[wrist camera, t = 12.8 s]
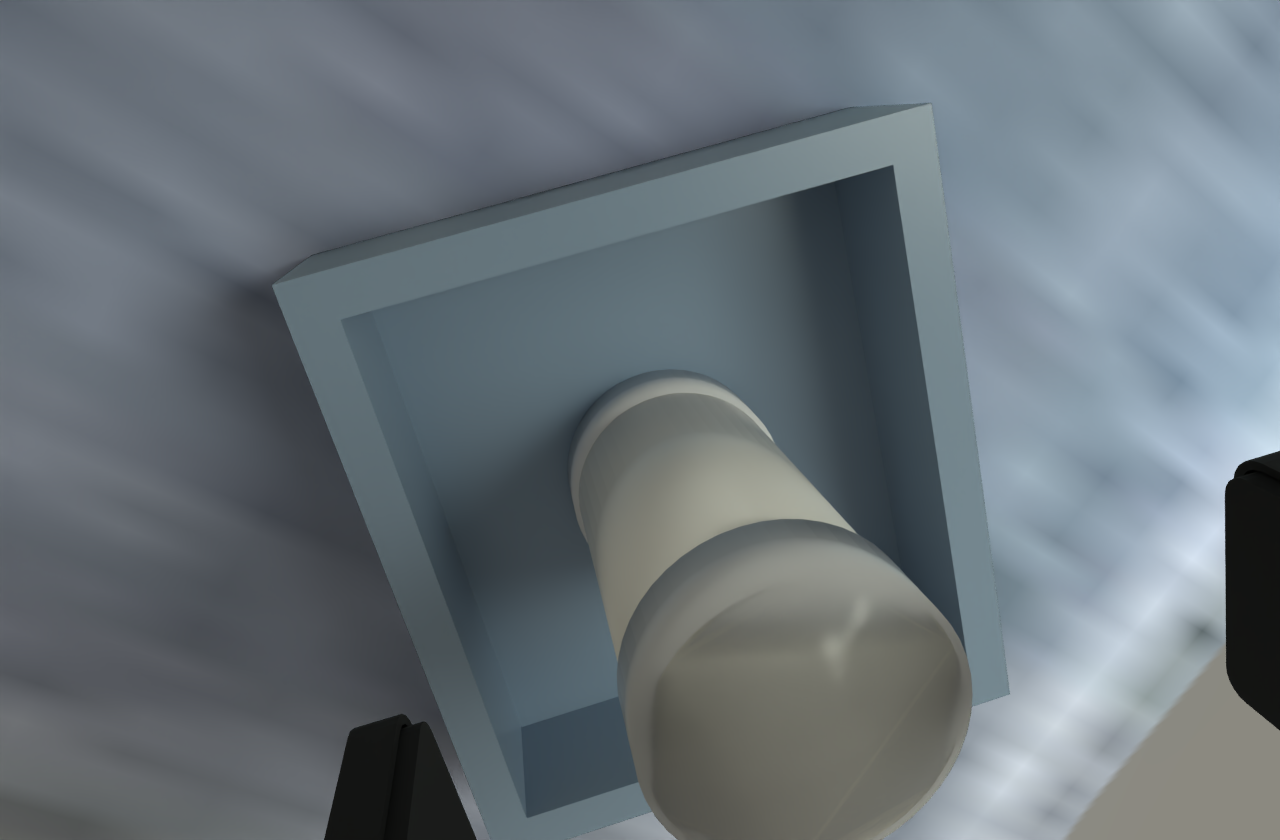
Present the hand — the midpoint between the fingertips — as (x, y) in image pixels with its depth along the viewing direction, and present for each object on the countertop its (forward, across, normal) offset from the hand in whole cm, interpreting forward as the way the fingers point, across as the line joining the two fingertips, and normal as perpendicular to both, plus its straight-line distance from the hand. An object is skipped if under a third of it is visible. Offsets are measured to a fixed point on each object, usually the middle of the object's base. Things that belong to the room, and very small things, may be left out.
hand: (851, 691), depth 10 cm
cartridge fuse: (+9, +1, +1) cm, 9 cm away
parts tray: (+10, +1, +1) cm, 10 cm away
